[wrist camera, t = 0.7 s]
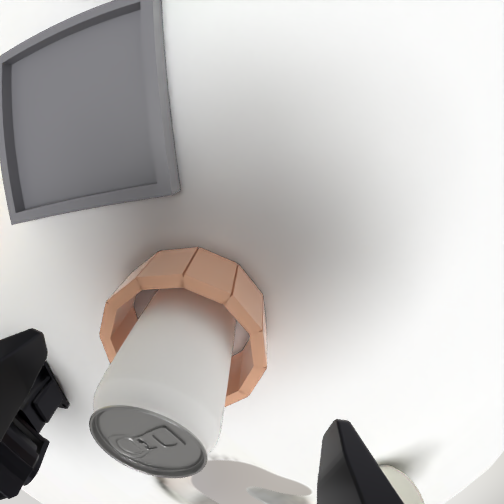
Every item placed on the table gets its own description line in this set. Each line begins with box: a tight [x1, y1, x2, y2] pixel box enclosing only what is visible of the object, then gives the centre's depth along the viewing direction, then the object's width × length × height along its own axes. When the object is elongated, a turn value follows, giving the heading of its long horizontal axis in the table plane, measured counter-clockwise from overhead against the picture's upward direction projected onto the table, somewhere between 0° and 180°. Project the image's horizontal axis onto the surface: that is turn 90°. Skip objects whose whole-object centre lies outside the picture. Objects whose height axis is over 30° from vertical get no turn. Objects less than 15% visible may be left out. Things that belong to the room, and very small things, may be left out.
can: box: [89, 287, 236, 478], centre depth 17 cm, size 6×6×12 cm
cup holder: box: [99, 247, 267, 407], centre depth 21 cm, size 11×11×4 cm
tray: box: [0, 0, 181, 225], centre depth 17 cm, size 14×14×2 cm
